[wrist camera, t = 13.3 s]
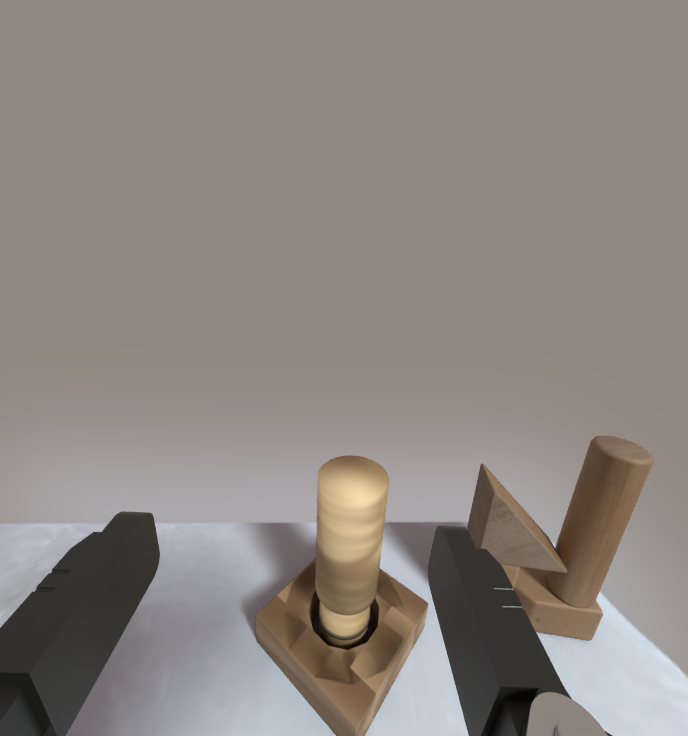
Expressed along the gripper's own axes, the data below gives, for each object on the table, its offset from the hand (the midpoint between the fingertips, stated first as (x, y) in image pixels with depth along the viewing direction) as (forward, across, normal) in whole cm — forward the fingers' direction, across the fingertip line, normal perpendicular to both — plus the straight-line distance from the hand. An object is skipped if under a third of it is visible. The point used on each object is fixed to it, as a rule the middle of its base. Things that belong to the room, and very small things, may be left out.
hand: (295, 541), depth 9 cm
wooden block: (+13, -19, +22) cm, 32 cm away
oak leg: (+11, -3, +23) cm, 25 cm away
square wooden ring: (+11, -3, +23) cm, 25 cm away
